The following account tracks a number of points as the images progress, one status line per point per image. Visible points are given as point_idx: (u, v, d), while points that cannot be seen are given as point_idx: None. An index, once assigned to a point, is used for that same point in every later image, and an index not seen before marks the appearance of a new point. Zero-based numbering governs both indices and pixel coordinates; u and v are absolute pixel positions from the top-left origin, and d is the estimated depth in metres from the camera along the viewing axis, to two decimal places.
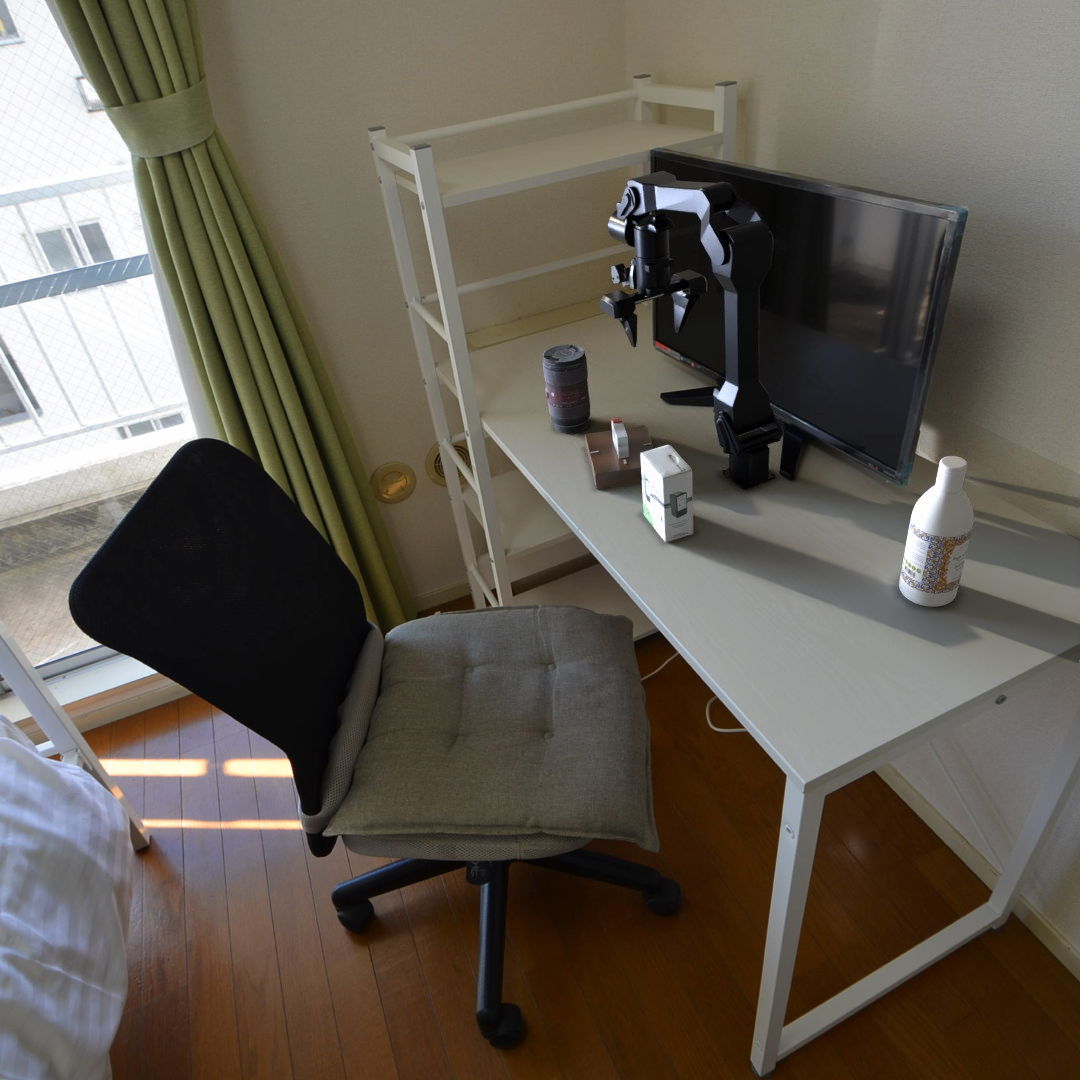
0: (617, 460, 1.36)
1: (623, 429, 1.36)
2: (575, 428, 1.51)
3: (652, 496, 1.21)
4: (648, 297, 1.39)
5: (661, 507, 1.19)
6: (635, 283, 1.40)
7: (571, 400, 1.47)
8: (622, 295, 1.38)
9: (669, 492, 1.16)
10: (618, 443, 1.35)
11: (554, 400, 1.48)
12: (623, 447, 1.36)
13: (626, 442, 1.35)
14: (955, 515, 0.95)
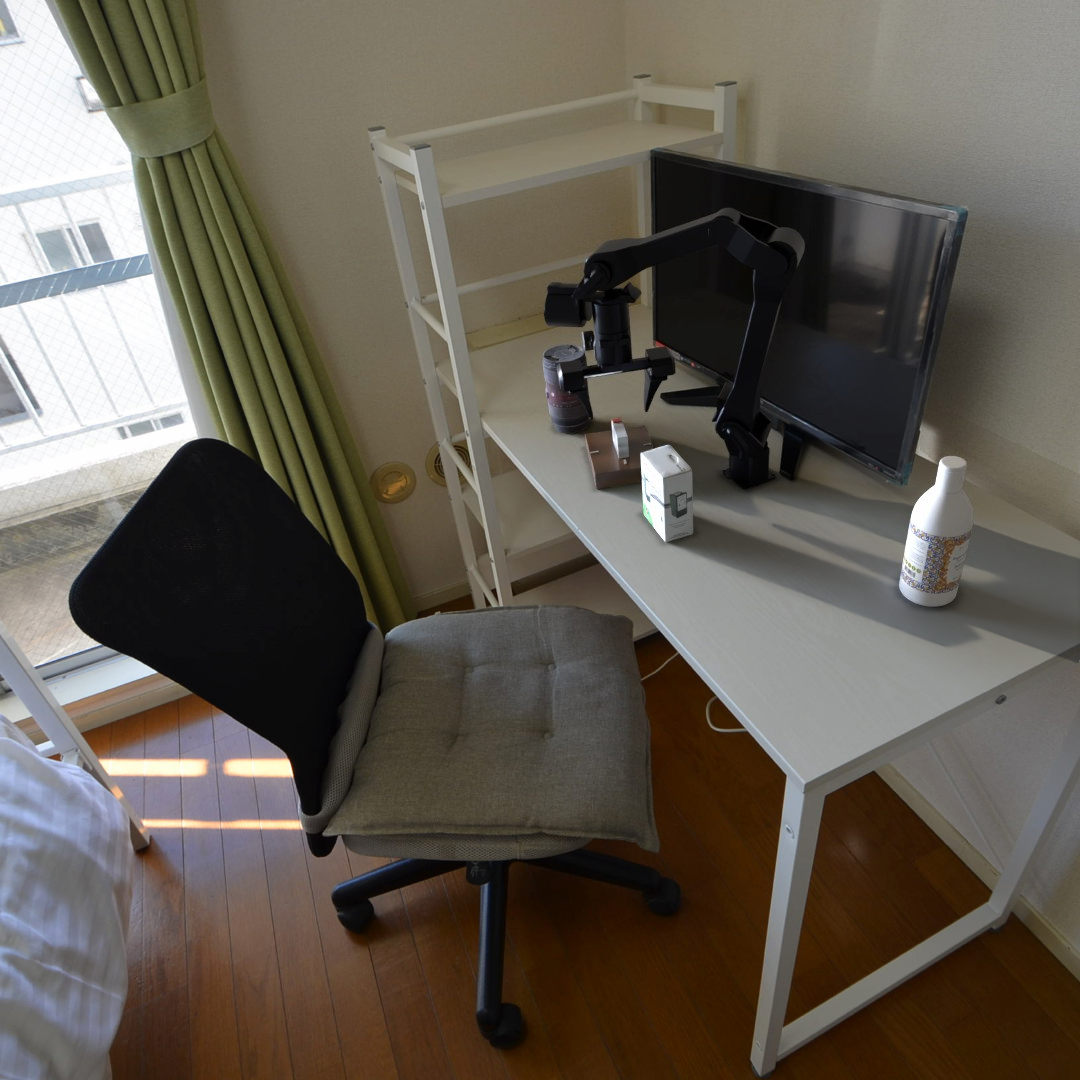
0: (617, 460, 1.36)
1: (623, 429, 1.36)
2: (575, 428, 1.51)
3: (652, 496, 1.21)
4: (604, 372, 1.29)
5: (661, 507, 1.19)
6: None
7: (571, 400, 1.47)
8: (575, 367, 1.29)
9: (669, 492, 1.16)
10: (618, 443, 1.35)
11: (554, 400, 1.48)
12: (623, 447, 1.36)
13: (626, 442, 1.35)
14: (955, 515, 0.95)
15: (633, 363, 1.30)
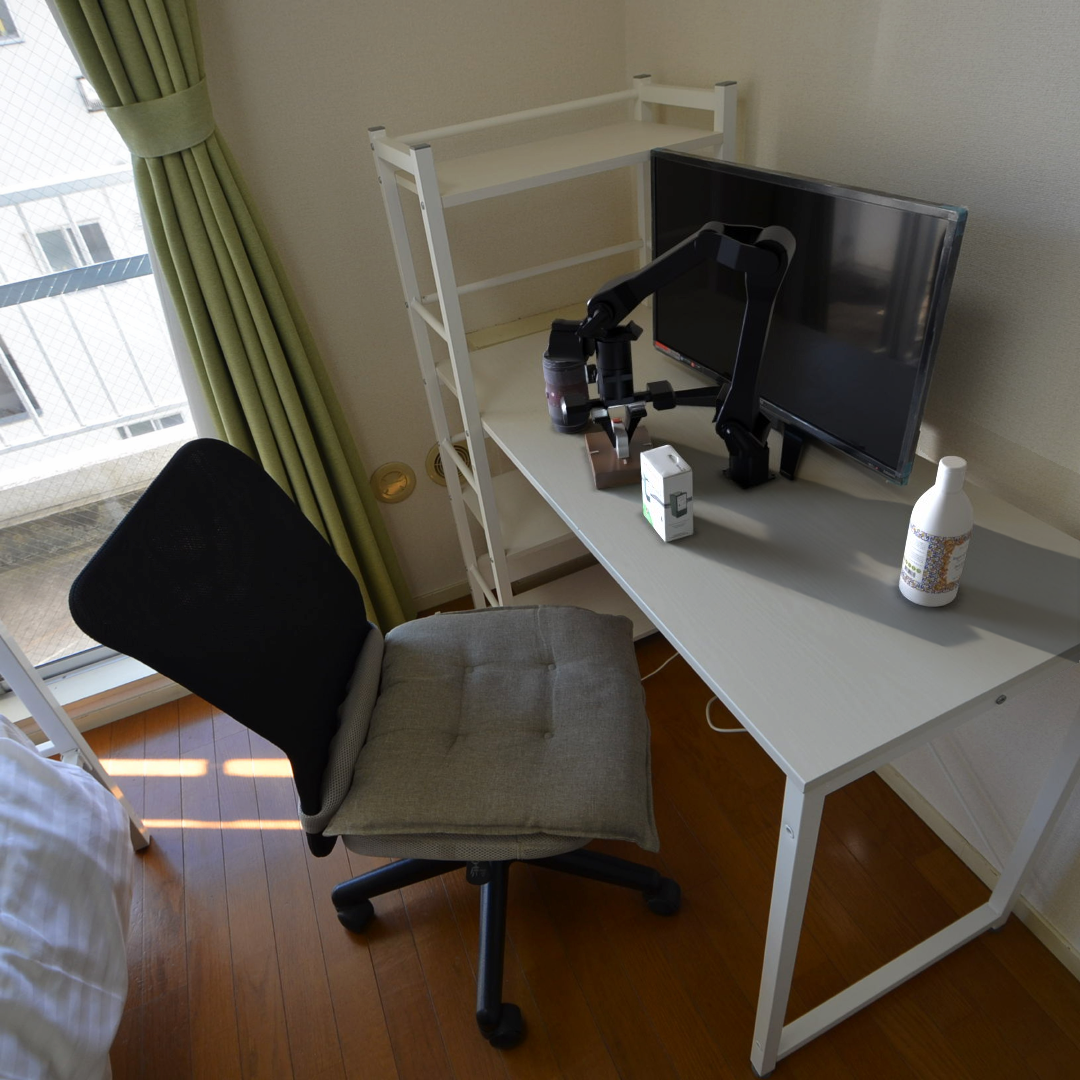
0: (617, 460, 1.36)
1: (623, 429, 1.36)
2: (575, 428, 1.51)
3: (652, 496, 1.21)
4: (628, 403, 1.33)
5: (661, 507, 1.19)
6: None
7: None
8: (578, 400, 1.33)
9: (669, 492, 1.16)
10: (618, 443, 1.35)
11: (554, 400, 1.48)
12: (623, 447, 1.36)
13: (626, 442, 1.35)
14: (955, 515, 0.95)
15: (635, 397, 1.33)
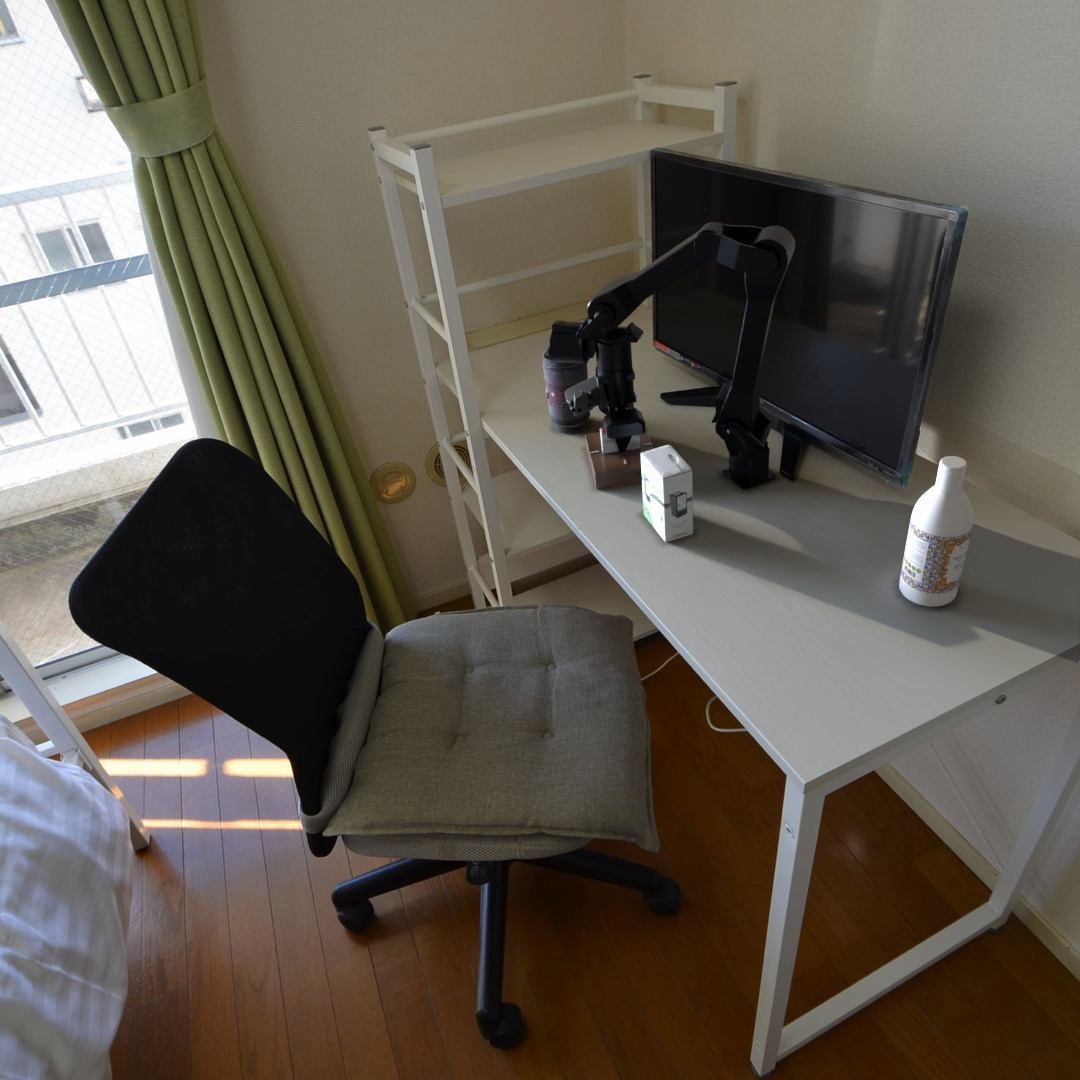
0: (617, 460, 1.36)
1: None
2: (575, 428, 1.51)
3: (652, 496, 1.21)
4: None
5: (661, 507, 1.19)
6: (607, 401, 1.31)
7: None
8: (626, 412, 1.28)
9: (669, 492, 1.16)
10: None
11: (554, 400, 1.48)
12: None
13: None
14: (955, 515, 0.95)
15: None
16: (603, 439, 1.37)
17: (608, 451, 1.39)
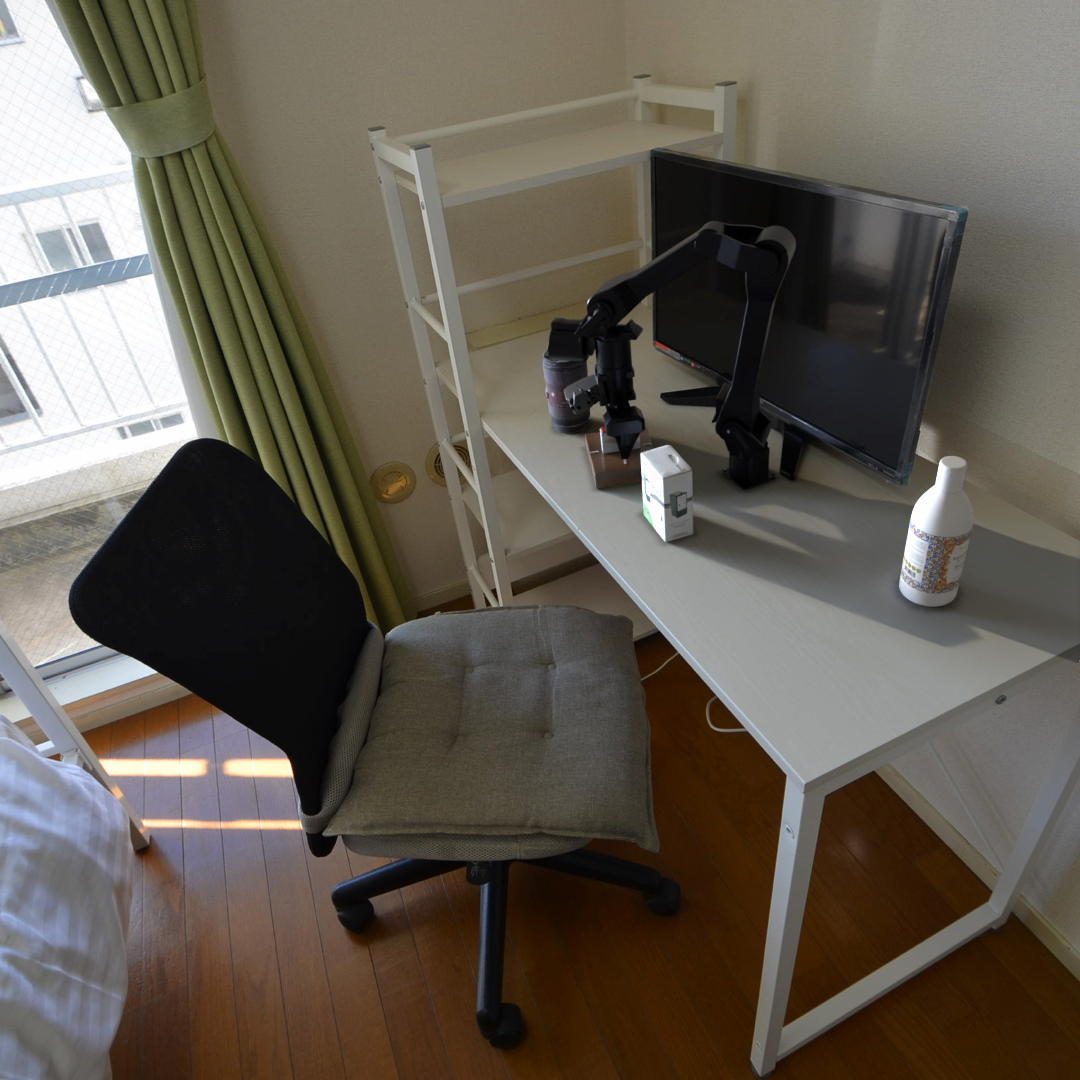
0: (617, 460, 1.36)
1: None
2: (575, 428, 1.51)
3: (652, 496, 1.21)
4: (627, 403, 1.32)
5: (661, 507, 1.19)
6: (607, 398, 1.31)
7: None
8: (625, 410, 1.28)
9: (669, 492, 1.16)
10: None
11: (554, 400, 1.48)
12: None
13: None
14: (955, 515, 0.95)
15: None
16: (603, 439, 1.37)
17: (608, 451, 1.39)
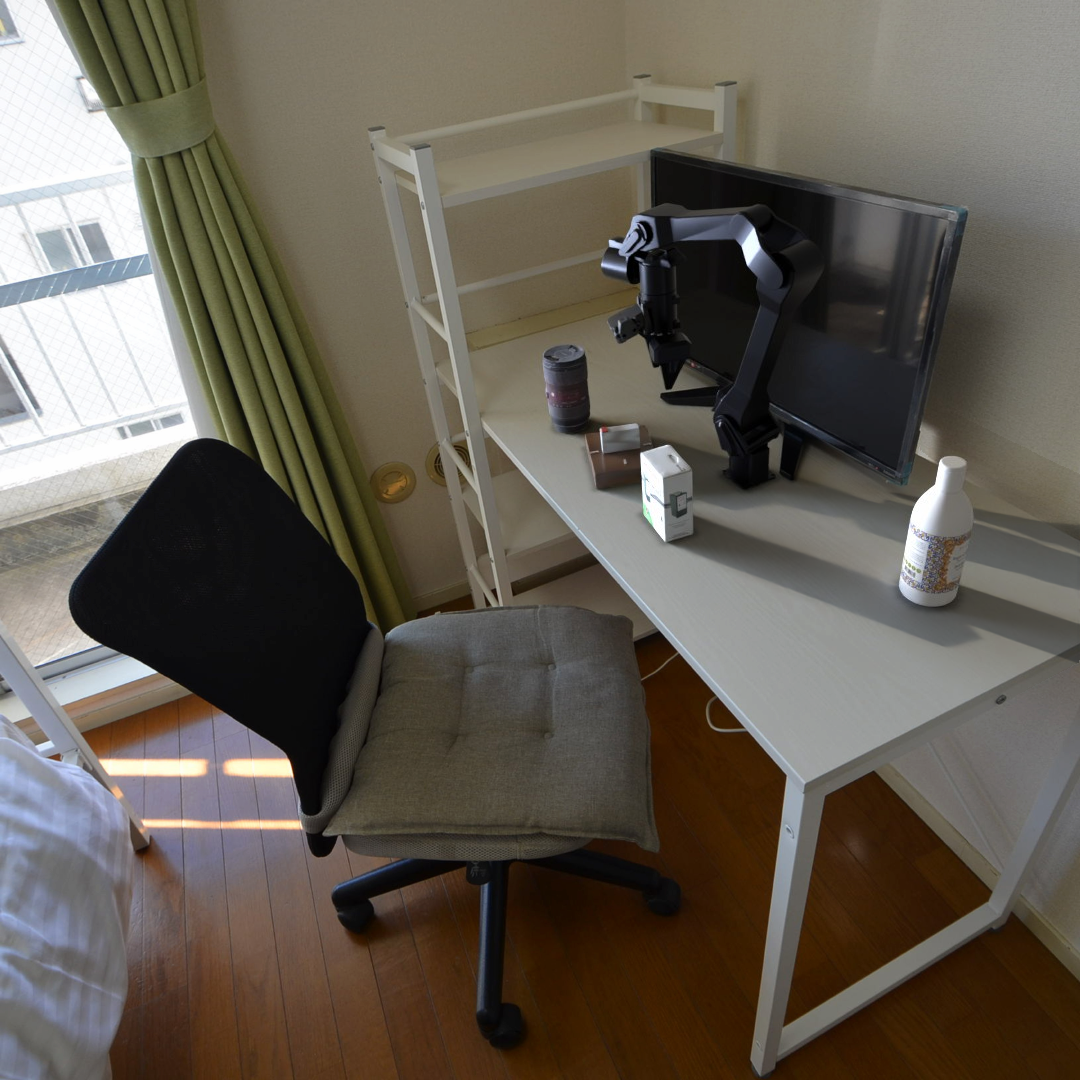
0: (617, 460, 1.36)
1: (622, 425, 1.38)
2: (575, 428, 1.51)
3: (652, 496, 1.21)
4: (671, 332, 1.32)
5: (661, 507, 1.19)
6: (651, 326, 1.30)
7: (571, 400, 1.47)
8: (672, 336, 1.27)
9: (669, 492, 1.16)
10: None
11: (554, 400, 1.48)
12: None
13: None
14: (955, 515, 0.95)
15: None
16: (603, 439, 1.37)
17: (608, 451, 1.39)
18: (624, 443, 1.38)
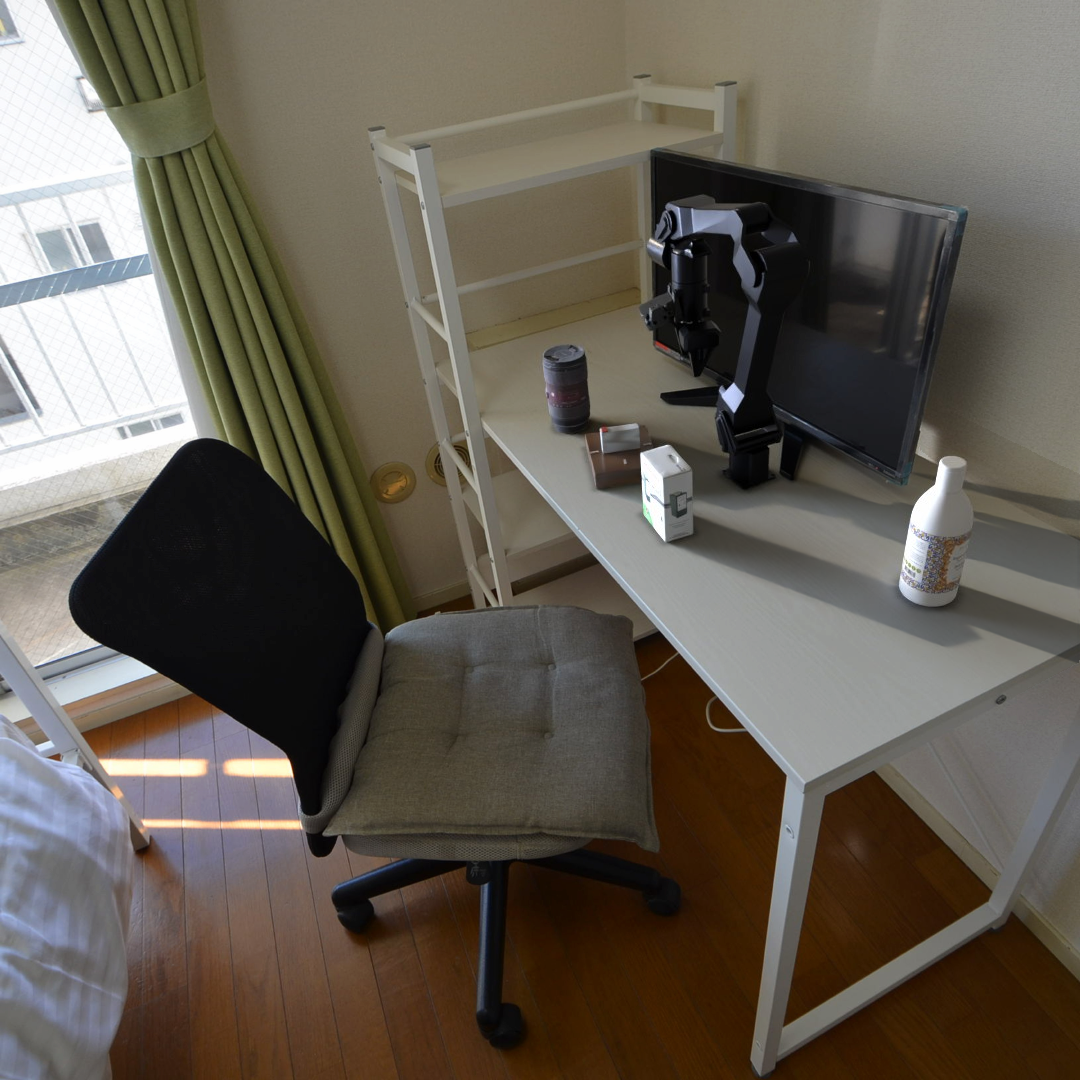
0: (617, 460, 1.36)
1: (622, 425, 1.38)
2: (575, 428, 1.51)
3: (652, 496, 1.21)
4: (701, 320, 1.35)
5: (661, 507, 1.19)
6: (682, 314, 1.33)
7: (571, 400, 1.47)
8: (702, 324, 1.30)
9: (669, 492, 1.16)
10: None
11: (554, 400, 1.48)
12: None
13: None
14: (955, 515, 0.95)
15: None
16: (603, 439, 1.37)
17: (608, 451, 1.39)
18: (624, 443, 1.38)
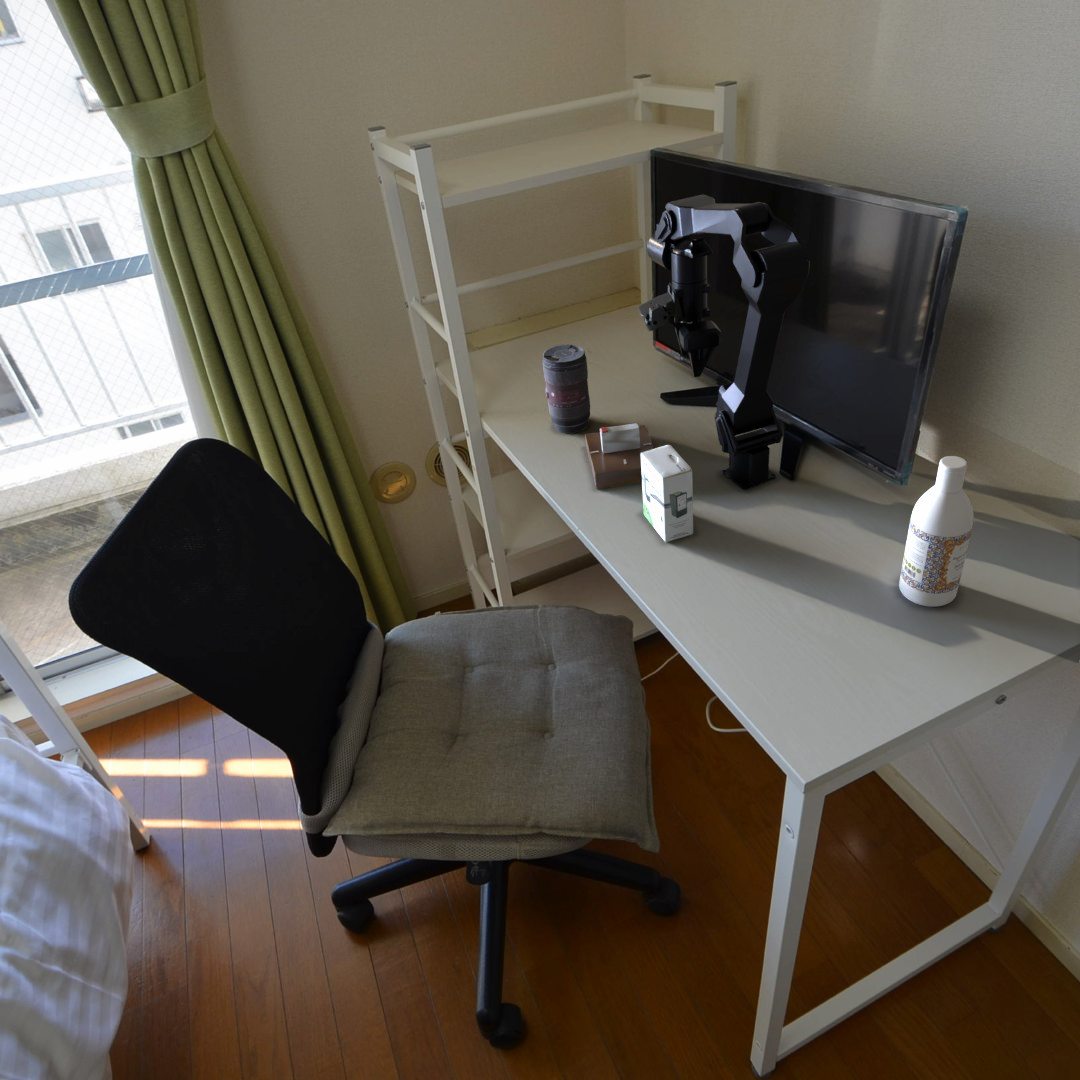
0: (617, 460, 1.36)
1: (622, 425, 1.38)
2: (575, 428, 1.51)
3: (652, 496, 1.21)
4: (701, 320, 1.35)
5: (661, 507, 1.19)
6: (682, 314, 1.33)
7: (571, 400, 1.47)
8: (702, 324, 1.30)
9: (669, 492, 1.16)
10: None
11: (554, 400, 1.48)
12: None
13: None
14: (955, 515, 0.95)
15: None
16: (603, 439, 1.37)
17: (608, 451, 1.39)
18: (624, 443, 1.38)
